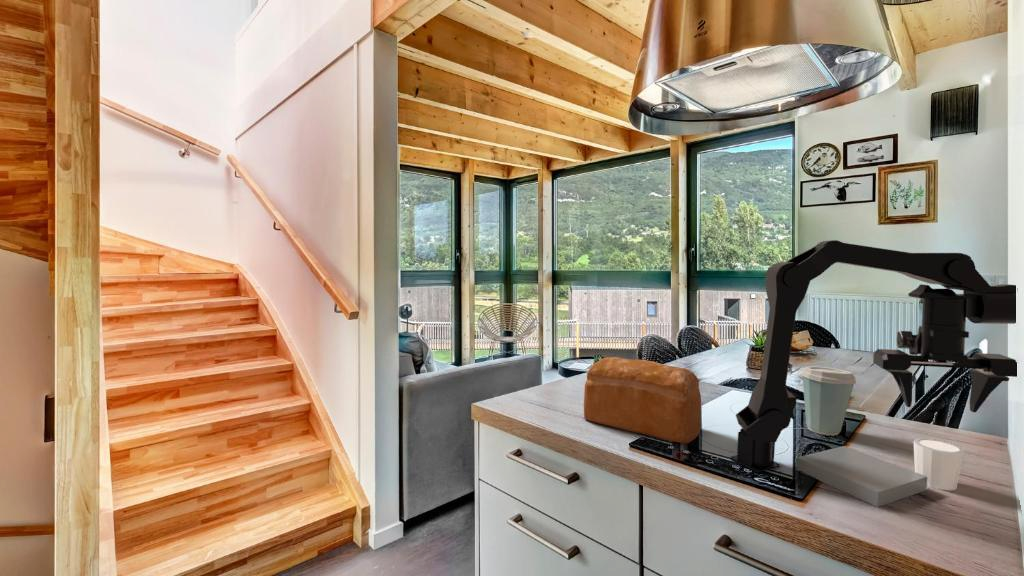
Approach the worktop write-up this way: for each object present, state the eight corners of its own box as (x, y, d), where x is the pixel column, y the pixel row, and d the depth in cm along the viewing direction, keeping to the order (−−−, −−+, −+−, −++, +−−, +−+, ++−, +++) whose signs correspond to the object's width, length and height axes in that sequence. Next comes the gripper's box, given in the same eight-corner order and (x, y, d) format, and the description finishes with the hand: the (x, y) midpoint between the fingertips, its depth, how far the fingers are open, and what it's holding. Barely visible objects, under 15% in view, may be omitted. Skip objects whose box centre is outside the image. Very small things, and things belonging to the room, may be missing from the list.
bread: (603, 406, 126) (604, 349, 125) (704, 429, 110) (707, 363, 109) (578, 421, 115) (579, 358, 114) (687, 448, 99) (690, 376, 98)
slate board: (877, 506, 76) (878, 492, 76) (796, 470, 89) (796, 457, 89) (926, 490, 82) (927, 476, 82) (843, 457, 95) (844, 445, 95)
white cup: (972, 494, 81) (975, 455, 80) (926, 490, 82) (929, 451, 82) (944, 475, 87) (947, 439, 87) (902, 472, 89) (904, 436, 88)
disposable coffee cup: (792, 420, 116) (795, 361, 115) (843, 425, 112) (846, 364, 111) (804, 436, 106) (808, 371, 105) (860, 442, 102) (865, 375, 101)
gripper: (986, 318, 87) (982, 400, 88) (864, 316, 94) (862, 392, 95) (1024, 327, 77) (1019, 420, 78) (885, 324, 84) (882, 409, 85)
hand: (939, 409), depth 84 cm, fingers open, 9 cm apart
